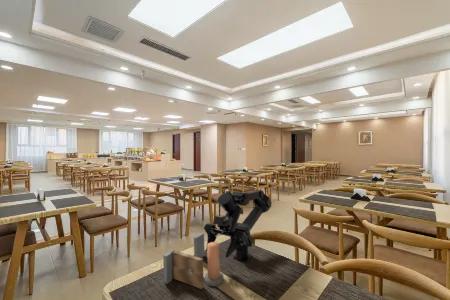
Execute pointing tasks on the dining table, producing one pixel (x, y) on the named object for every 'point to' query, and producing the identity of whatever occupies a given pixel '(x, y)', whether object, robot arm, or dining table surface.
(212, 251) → the door stop
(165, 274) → the door frame
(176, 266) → the door
